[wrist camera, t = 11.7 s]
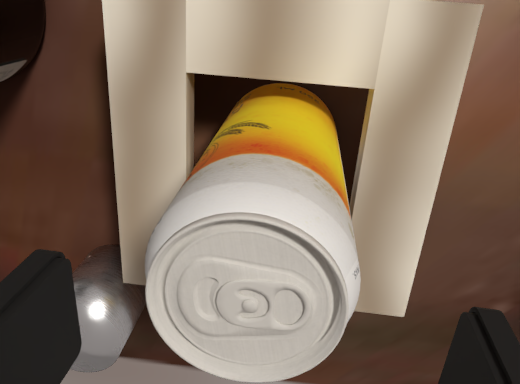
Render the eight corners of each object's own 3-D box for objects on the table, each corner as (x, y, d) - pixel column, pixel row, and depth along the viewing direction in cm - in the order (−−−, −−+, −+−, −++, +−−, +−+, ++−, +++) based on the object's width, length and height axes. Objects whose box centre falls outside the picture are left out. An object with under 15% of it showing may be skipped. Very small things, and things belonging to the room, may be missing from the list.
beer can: (226, 77, 24) (117, 194, 11) (341, 82, 24) (380, 210, 10) (228, 181, 27) (140, 382, 13) (331, 187, 26) (351, 404, 13)
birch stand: (447, 1, 22) (483, 4, 17) (389, 263, 28) (403, 317, 23) (142, -22, 23) (100, -25, 18) (152, 236, 29) (123, 282, 24)
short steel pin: (153, 249, 29) (117, 308, 24) (155, 310, 31) (123, 377, 26) (79, 240, 30) (27, 297, 24) (86, 301, 32) (40, 366, 26)
